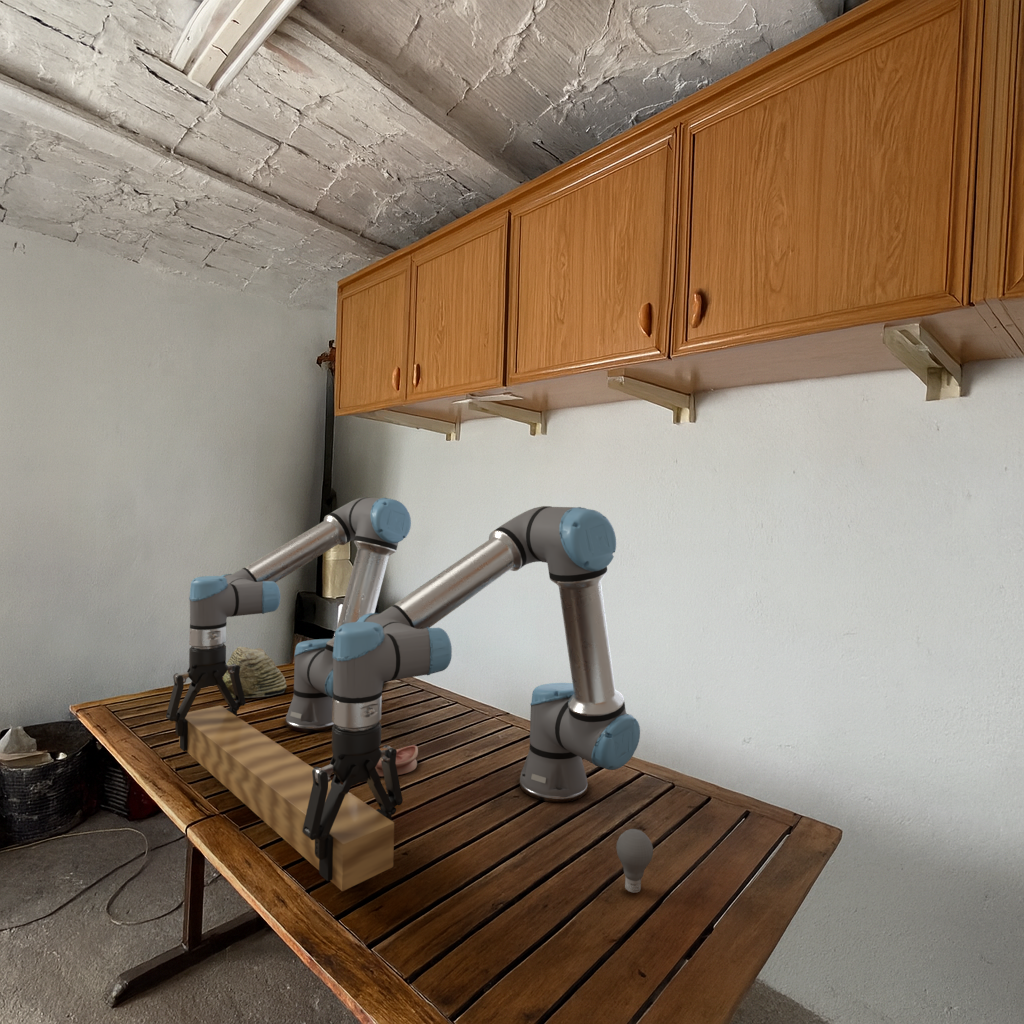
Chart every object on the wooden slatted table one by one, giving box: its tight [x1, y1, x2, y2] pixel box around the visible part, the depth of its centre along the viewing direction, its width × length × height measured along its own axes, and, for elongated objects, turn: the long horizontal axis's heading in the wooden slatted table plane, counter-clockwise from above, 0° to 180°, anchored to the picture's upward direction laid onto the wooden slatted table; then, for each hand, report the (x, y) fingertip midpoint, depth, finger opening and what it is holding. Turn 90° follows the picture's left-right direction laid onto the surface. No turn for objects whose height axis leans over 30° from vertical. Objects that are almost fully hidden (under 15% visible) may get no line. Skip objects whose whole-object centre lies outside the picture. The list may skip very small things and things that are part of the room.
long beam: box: [178, 705, 395, 892], centre depth 122 cm, size 71×9×7 cm, turn 45°
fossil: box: [222, 646, 288, 699], centre depth 198 cm, size 9×18×15 cm, turn 132°
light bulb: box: [615, 828, 654, 894], centre depth 106 cm, size 6×6×10 cm
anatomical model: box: [375, 744, 419, 777], centre depth 149 cm, size 13×4×12 cm
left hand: (206, 743), depth 144 cm, fingers closed on long beam, 9 cm apart
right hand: (354, 863), depth 100 cm, fingers closed on long beam, 9 cm apart
